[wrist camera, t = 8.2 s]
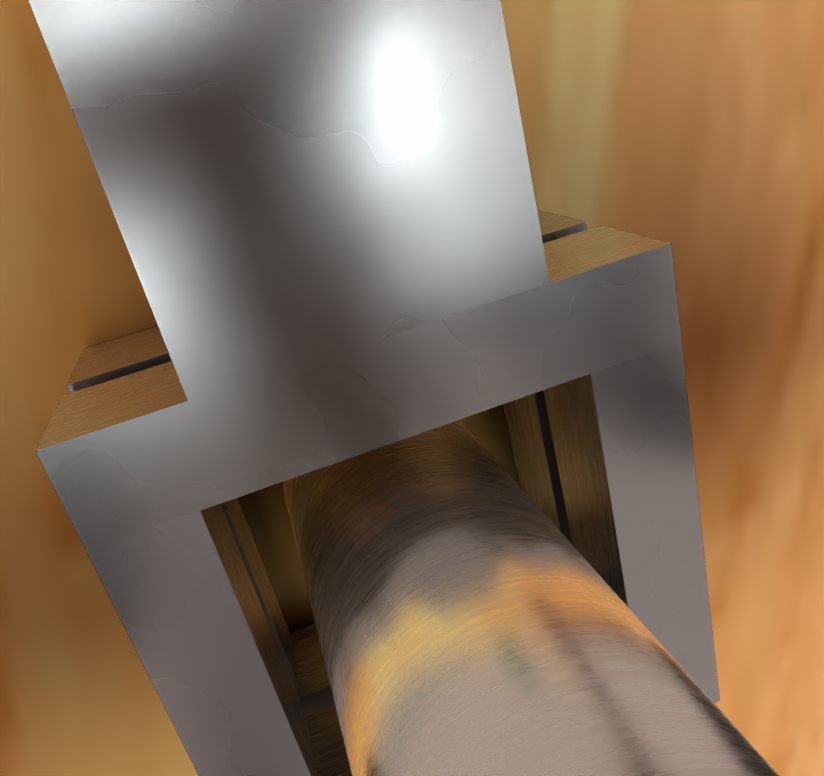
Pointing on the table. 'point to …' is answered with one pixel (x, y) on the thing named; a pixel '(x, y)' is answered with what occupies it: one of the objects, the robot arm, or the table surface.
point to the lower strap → (296, 647)
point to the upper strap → (344, 325)
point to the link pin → (485, 630)
